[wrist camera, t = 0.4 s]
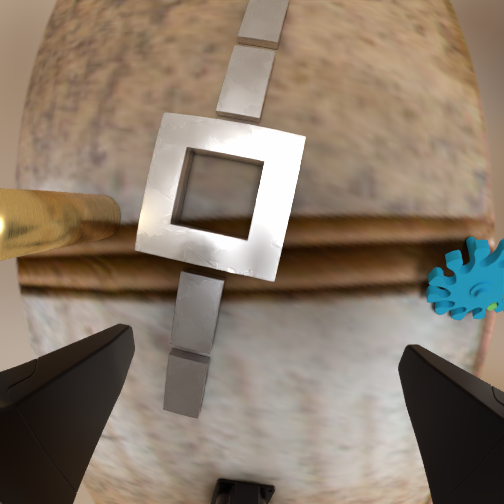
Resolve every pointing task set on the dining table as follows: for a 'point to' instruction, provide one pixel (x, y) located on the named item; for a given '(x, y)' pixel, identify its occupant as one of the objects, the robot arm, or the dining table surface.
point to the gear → (469, 282)
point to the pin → (53, 220)
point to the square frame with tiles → (210, 241)
